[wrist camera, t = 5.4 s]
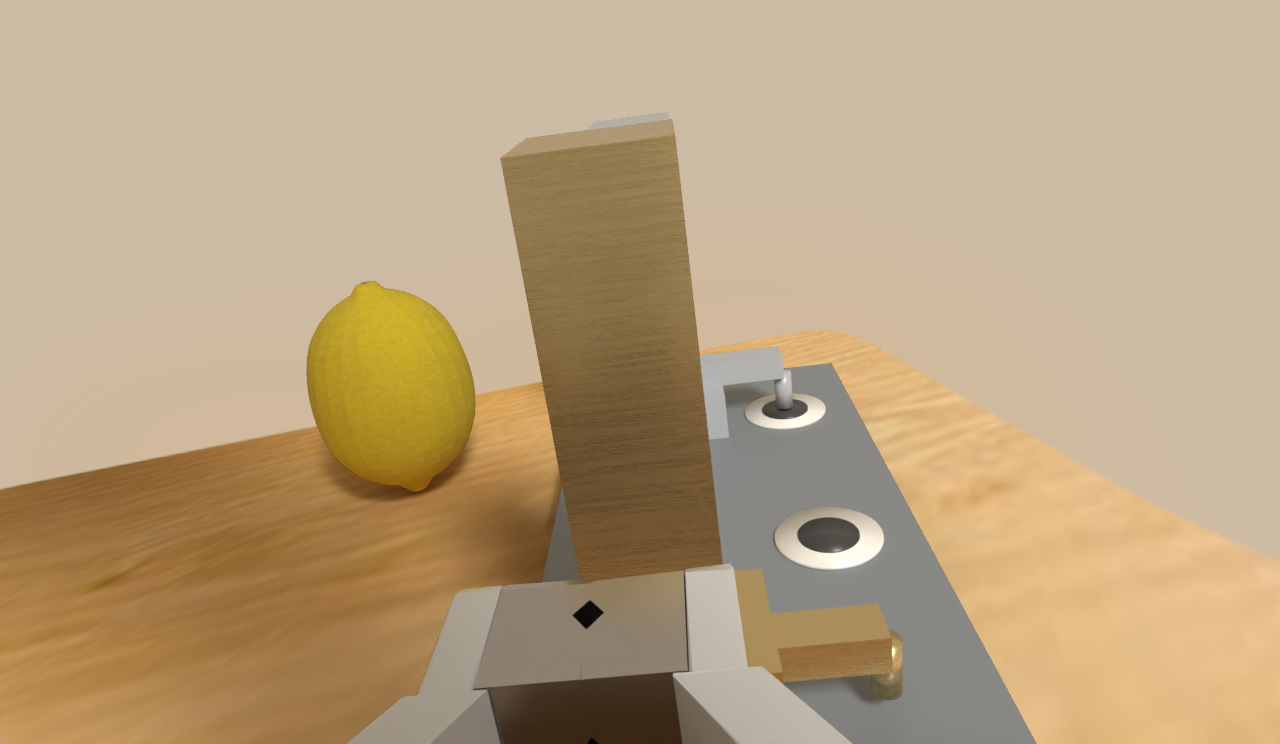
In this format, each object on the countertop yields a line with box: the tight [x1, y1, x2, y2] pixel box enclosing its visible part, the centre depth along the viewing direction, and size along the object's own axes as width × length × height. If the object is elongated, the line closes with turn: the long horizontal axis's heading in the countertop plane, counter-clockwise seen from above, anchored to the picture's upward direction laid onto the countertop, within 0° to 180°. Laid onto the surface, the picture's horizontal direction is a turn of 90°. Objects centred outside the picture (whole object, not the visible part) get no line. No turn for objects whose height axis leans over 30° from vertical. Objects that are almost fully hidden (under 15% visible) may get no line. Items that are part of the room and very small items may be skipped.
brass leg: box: [501, 119, 903, 701], centre depth 14 cm, size 6×3×11 cm, turn 89°
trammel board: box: [542, 112, 1036, 744], centre depth 22 cm, size 10×20×12 cm, turn 179°
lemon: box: [307, 281, 475, 492], centre depth 29 cm, size 6×6×8 cm
